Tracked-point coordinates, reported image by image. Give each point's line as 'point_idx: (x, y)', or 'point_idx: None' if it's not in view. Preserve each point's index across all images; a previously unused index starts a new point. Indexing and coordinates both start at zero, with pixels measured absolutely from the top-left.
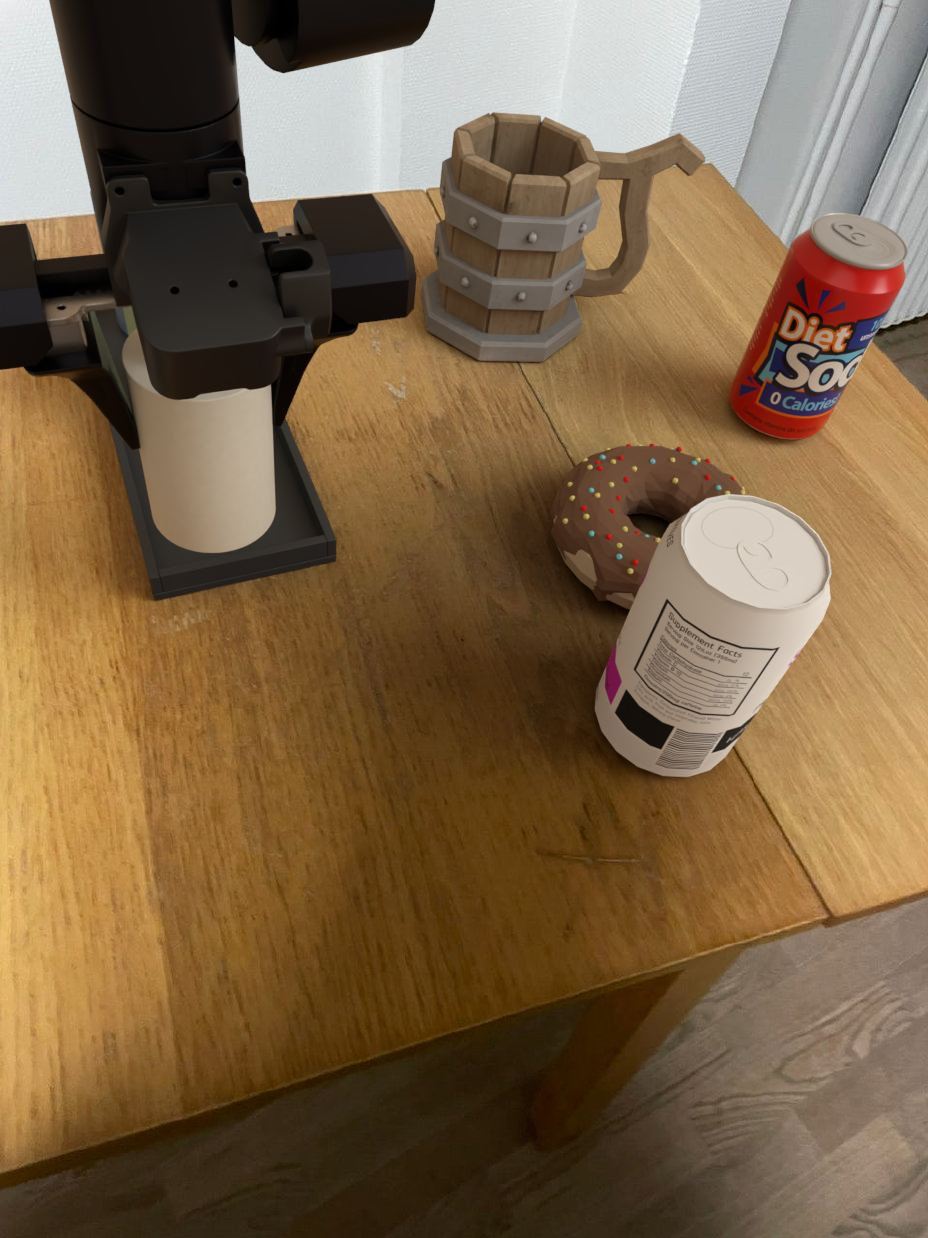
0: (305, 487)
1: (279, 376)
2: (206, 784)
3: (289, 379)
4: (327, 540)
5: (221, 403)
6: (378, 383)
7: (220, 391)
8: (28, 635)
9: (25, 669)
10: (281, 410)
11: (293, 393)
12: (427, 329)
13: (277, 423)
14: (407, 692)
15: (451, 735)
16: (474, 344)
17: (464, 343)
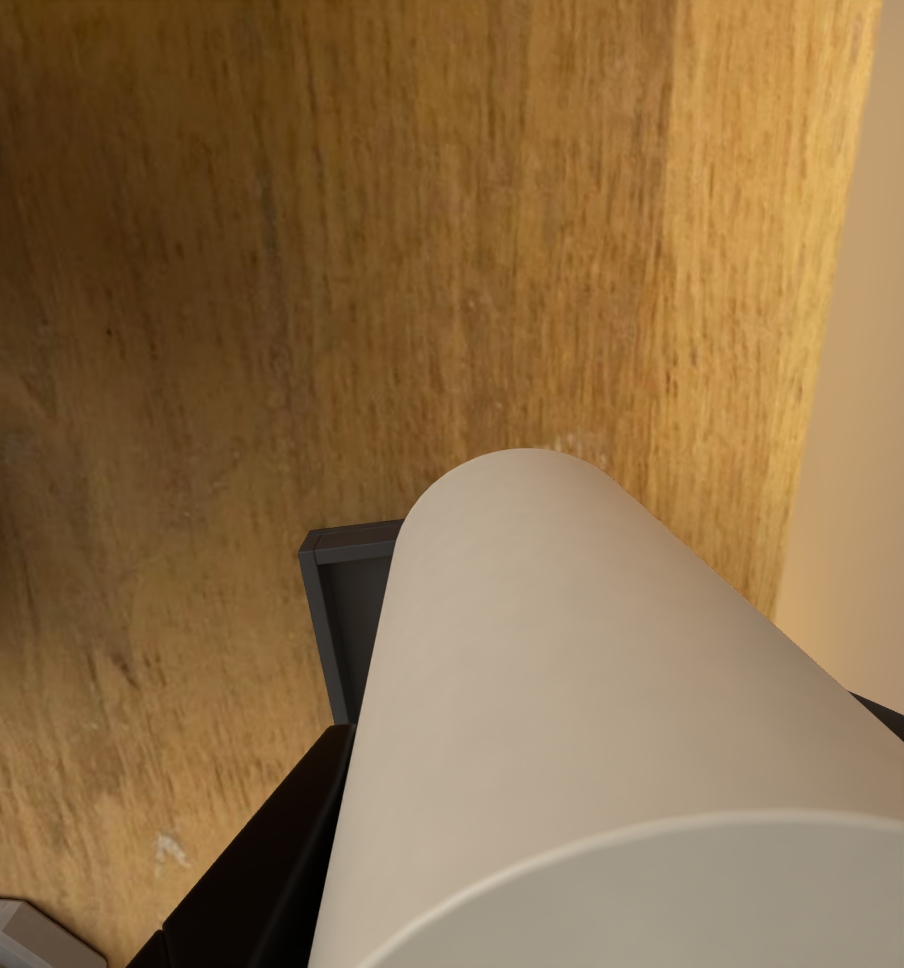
0: (337, 666)
1: (258, 955)
2: (573, 120)
3: (216, 929)
4: (313, 551)
5: (643, 787)
6: (200, 865)
7: (643, 884)
8: (777, 462)
9: (792, 401)
10: (312, 775)
11: (234, 846)
12: (104, 964)
13: (340, 732)
14: (219, 238)
15: (150, 125)
16: (14, 934)
17: (36, 936)
